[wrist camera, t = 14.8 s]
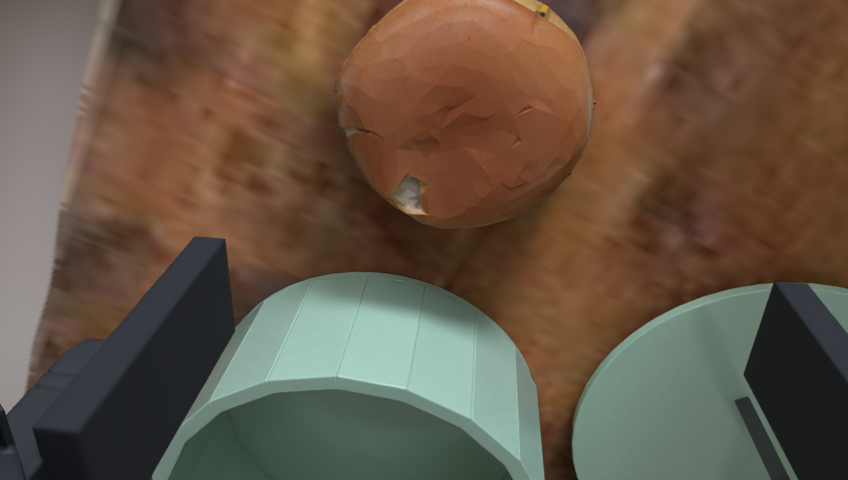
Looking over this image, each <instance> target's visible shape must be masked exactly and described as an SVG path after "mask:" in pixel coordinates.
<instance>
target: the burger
mask: <svg viewBox="0 0 848 480" xmlns="http://www.w3.org/2000/svg"><path fill="white" fill-rule="evenodd" d="M334 91H335V92H338V105H337V119H338V124H339V127H340V128H341V129H343V130H344V138H345V141H346V144H347V147H348V150H349V152H350V154H351V156H352V157H353V159H354V161H355V162H356V164H357V166H358V167H359V169H360V171H361V172H362V174H363V176H364V178H365V179H366V181H367V183H368V184H369V185H370V186H371V187H372V188H373V189H374V190H375V191H376V192H377V193H378V194H379V195H380V196H381V197H382V198H383V199H384V200H386V201H387V202H388V203H390V204H391V205H392V206H394V207H395V208H397V209H400V210H401V211H403V212H405V213H407V214H408V215H410V216H411V217H412V218H414V219H415V220H417V221H418V222H419V223H422V224H426V225H430V226H434V227H437V228H444V229H459V228H476V227H483V226H487V225H490V224H494V223H498V222H502V221H505V220H509V219H511V218H513V217H516V216H518V215H520V214H522V213H524V212H527V211H529V210H530V209H531V208H533V207H534V206H535V205H536V204H537V203H539V202H540V201H541V200H542V199H544V198H545V197H546V196H548V195H549V194H550V193H552V192H553V191H554V190H556V189H557V187H558V186H559V185H560V184H561V183H562V182H563V181H564V180H565V179H566V177H567V176H569V175H570V174H571V173H570V172H571V171H572V170H573V168H574V167H575V165H576V163H577V162H578V160H579V158H580V157H581V154H582V152H583V150H584V147H585V145H586V142H587V140H588V136H589V132H590V128H591V123H592V116H593V111H594V108H593V105H594V104H596V102H595V101H594V100H593V86H592V81H591V75H590V71H589V66H588V63H587V60H586V57H585V54H584V51H583V49H582V47H581V45H580V43H579V41H578V40H577V38H576V36H575V34H574V33H573V32H572V31H571V29H570V28H569V27H568V26H567V25H566V24H565V23H564V21H563V20H562V19H561V18H560V17H559V16H558V15H556V14H555V13H554V12H553V11H552V10H551V9H550V8H549V7H548V6H546V5H545V4H542V3H541V2H539V1H537V0H403V1H402V2H401V3H400V4H399V5H398V6H396V7H395V8H394V9H393V8H392V10H391V11H390V12H389V13H387V14H386V15H385V16H384V17H383V18H382V19H380V20H379V21H378V22H377V23H376V24H374V25H372V27H371V28H370V30H369V31H368V33H367V34H366V36H365V37H364V38H363V39H362V40H361V41H360V42H359V43H358V44H357V45H356V47H355V48H354V49H353V51H352V52H351V54H350V55H349V56H348V58H347V59H346V61H345V63H344V65H343V66H342V68H341V71H340V73H339V75H338V77H337V79H336V81H335V86H334Z"/></svg>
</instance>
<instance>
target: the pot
mask: <svg viewBox="0 0 848 480" xmlns="http://www.w3.org/2000/svg"><path fill="white" fill-rule="evenodd" d="M152 480H545V471H544V459H543V448H542V436H541V425H540V415H539V405H538V395H537V388H536V385H535V383H534V380H533V377H532V374H531V372H530V370H529V368H528V365H527V363H526V361H525V359H524V357H523V356H522V354H521V353H520V351H519V350H518V348H517V346H516V345H515V343H514V342H513V341H512V340H511V339H510V338H509V336H508V335H507V334H506V333H505V332H504V330H503V329H502V328H501V327H500V326H498V325H497V324H496V323H495V322H494V321H493V320H492V319H491V318H490V317H489V316H487V315H486V314H485V313H484V312H482V311H481V310H479V309H478V308H476V307H475V306H474V305H472V304H471V303H469V302H468V301H466V300H464V299H462V298H460V297H458V296H457V295H455V294H453V293H451V292H449V291H447V290H445V289H442V288H439V287H437V286H434V285H432V284H429V283H427V282H423V281H420V280H416V279H412V278H409V277H405V276H400V275H393V274H386V273H380V272H345V273H333V274H328V275H323V276H318V277H314V278H310V279H307V280H304V281H301V282H298V283H295V284H292V285H290V286H288V287H286V288H284V289H282V290H280V291H278V292H276V293H274V294H272V295H271V296H270V297H268V298H267V299H265V300H264V301H262V302H261V303H259V304H258V305H257V306H256V307H255V308H254V309H253V310H251V311H250V312H249V313H248V314H247V315H246V316H245V317H244V318H243V320H242V321H241V322H240V324H239V325H237V326H236V327H235V333H234V334H233V336H232V338H231V340H230V341H229V343H228V345H227V346H226V348H225V350H224V352H223V353H222V355H221V357H220V359H219V360H218V362H217V364H216V365H215V367H214V369H213V371H212V372H211V374H210V376H209V378H208V379H207V381H206V383H205V384H204V386H203V388H202V390H201V391H200V393H199V395H198V397H197V398H196V400H195V402H194V403H193V405H192V407H191V409H190V410H189V412H188V414H187V416H186V417H185V419H184V421H183V422H182V424H181V426H180V428H179V429H178V431H177V433H176V435H175V436H174V438H173V440H172V441H171V443H170V445H169V447H168V448H167V450H166V452H165V454H164V455H163V457H162V459H161V460H160V462H159V464H158V466H157V467H156V469H155V471H154V473H153V474H152Z"/></svg>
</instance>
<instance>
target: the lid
mask: <svg viewBox="0 0 848 480" xmlns="http://www.w3.org/2000/svg"><path fill="white" fill-rule="evenodd" d="M790 283H792V282H790ZM803 284H808V285H809V286H810V287H811V289H812V290H813V291H814V292H815V294H816V295H817V296H818V297H819V299H820V300H821V301H822V302H823V303H824V305H825V306H826V307H827V308H828V310H829V311H830V312H831V313H832V315H833V316H834V317H835V318H836V320H837V321H838V322H839V323H840V325H841V326H842V327H843V328H844V329H845V331H846V332H847V333H848V289H845V288H842V287H835V286H829V285H822V284H815V283H803ZM772 286H773V283H768V284H756V285H750V286H744V287H739V288H733V289H728V290H724V291H721V292H717V293H714V294H710V295H707V296H703V297H700V298H698V299H695V300H693V301H690V302H688V303H685V304H683V305H680V306H677V307H675V308H673V309H671V310H670V311H668V312H666V313H664V314H662V315H660V316H658V317H656V318H654V319H652V320H651V321H650V322H648V323H647V324H645V325H644V326H642V327H641V328H639V329H638V330H636V331H635V332H633V333H632V334H631V335H629V336H628V337H627V338H626V339H625V340H624V341H622V342H621V343H620V344H619V345H618V346H617V347H615V348H614V349H613V350H612V352H611V353H610V354H609V355H608V356H607V357H606V358H605V359H604V360H603V361H602V363H601V364H600V365H599V366H598V368H597V369H596V370H595V372H594V373H593V375H592V376H591V378H590V379H589V381H588V382H587V384H586V386H585V388H584V390H583V392H582V394H581V396H580V398H579V401H578V404H577V407H576V410H575V414H574V417H573V422H572V431H571V449H572V459H573V464H574V468H575V472H576V476H577V479H578V480H798V478H797V476H796V475H795V473H794V471H793V469H792V467H791V465H790V463H789V461H788V459H787V457H786V455H785V454H784V452H783V450H782V448H781V446H780V444H779V442H778V440H777V438H776V436H775V434H774V433H773V431H772V429H771V427H770V425H769V423H768V421H767V419H766V417H765V415H764V413H763V411H762V410H761V408H760V406H759V404H758V402H757V400H756V398H755V396H754V394H753V392H752V390H751V389H750V387H749V385H748V383H747V381H746V379H745V377H744V375H743V374H744V371H745V368H746V364H747V361H748V358H749V355H750V352H751V349H752V346H753V343H754V340H755V337H756V334H757V331H758V328H759V325H760V322H761V319H762V316H763V313H764V310H765V307H766V304H767V301H768V298H769V295H770V292H771V289H772Z"/></svg>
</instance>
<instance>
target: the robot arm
mask: <svg viewBox="0 0 848 480" xmlns="http://www.w3.org/2000/svg"><path fill="white" fill-rule="evenodd" d="M234 333H235V323H234V314H233V305H232V296H231V287H230V278H229V269H228V260H227V251H226V242H225V239H221V238H208V237H194V238H193V239H192V240H191V241H190V243H189V244H188V245H187V246H186V247H185V248H184V250H183V251H182V252H181V253H180V254H179V255H178V257H177V258H176V259H175V260H174V261H173V262H172V264H171V265H170V266H169V267H168V268H167V269H166V271H165V272H164V273H163V274H162V275H161V276H160V278H159V279H158V280H157V281H156V282H155V283H154V285H153V286H152V287H151V288H150V289H149V291H148V292H147V293H146V294H145V295H144V296H143V298H142V299H141V300H140V301H139V302H138V303H137V305H136V306H135V307H134V308H133V309H132V310H131V312H130V313H129V314H128V315H127V316H126V317H125V319H124V320H123V321H122V322H121V323H120V324H119V326H118V327H117V328H116V329H115V330H114V331H113V333H112V334H111V335H110V336H109V337H108V338H107V340H100V339H89V338H87V339H86V340H84V341H82V342H81V343H79V344H77V345H76V346H74V347H72V348H71V349H69V350H67V351H66V352H64V353H63V354H62V355H61V356H60V357H59V359H58V360H57V361H56V362H55V363H54V364H53V365H52V366H51V367H50V368H49V369H48V373H45V374H44V375H43V376H42V377H41V378H40V379H39V380H38V381H37V382H36V383H35V387H34V388H33V387H32V388H31V389H30V390H29V391H28V392H27V393H26V394H25V395H24V396H23V398H22V399H21V400H20V401H19V402H18V403H17V404H16V405H15V406H14V407H13V409H11V411H10V412H9V413H8V414H7V415H6V414H5V411H4V409H3V408H2V406H1V405H0V480H149V479H150V478H151V476H152V474H153V473H154V471H155V469H156V467H157V466H158V464H159V462H160V460H161V459H162V457H163V455H164V454H165V452H166V450H167V448H168V447H169V445H170V443H171V441H172V440H173V438H174V436H175V435H176V433H177V431H178V429H179V428H180V426H181V424H182V422H183V421H184V419H185V417H186V416H187V414H188V412H189V410H190V409H191V407H192V405H193V403H194V402H195V400H196V398H197V397H198V395H199V393H200V391H201V390H202V388H203V386H204V384H205V383H206V381H207V379H208V378H209V376H210V374H211V372H212V371H213V369H214V367H215V365H216V364H217V362H218V360H219V359H220V357H221V355H222V353H223V352H224V350H225V348H226V346H227V345H228V343H229V341H230V340H231V338H232V336H233V334H234ZM743 375H744V377H745V379H746V381H747V383H748V385H749V387H750V389H751V390H752V392H753V394H754V396H755V398H756V400H757V402H758V404H759V406H760V408H761V410H762V411H763V413H764V415H765V417H766V419H767V421H768V423H769V425H770V427H771V429H772V431H773V433H774V434H775V436H776V438H777V440H778V442H779V444H780V446H781V448H782V450H783V452H784V454H785V455H786V457H787V459H788V461H789V463H790V465H791V467H792V469H793V471H794V473H795V475H796V476H797V478H798V480H848V333H847V332H846V331H845V329H844V328H843V327H842V326H841V325H840V323H839V322H838V321H837V320H836V318H835V317H834V316H833V315H832V313H831V312H830V311H829V310H828V308H827V307H826V306H825V305H824V303H823V302H822V301H821V300H820V299H819V297H818V296H817V295H816V294H815V292H814V291H813V290H812V289H811V287H810V286H809V285H808V284H803V283H790V282H777V281H774V283H773V286H772V289H771V292H770V295H769V298H768V301H767V304H766V307H765V310H764V313H763V316H762V319H761V322H760V325H759V328H758V331H757V334H756V337H755V340H754V343H753V346H752V349H751V352H750V355H749V358H748V361H747V364H746V368H745V371H744V374H743Z"/></svg>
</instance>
